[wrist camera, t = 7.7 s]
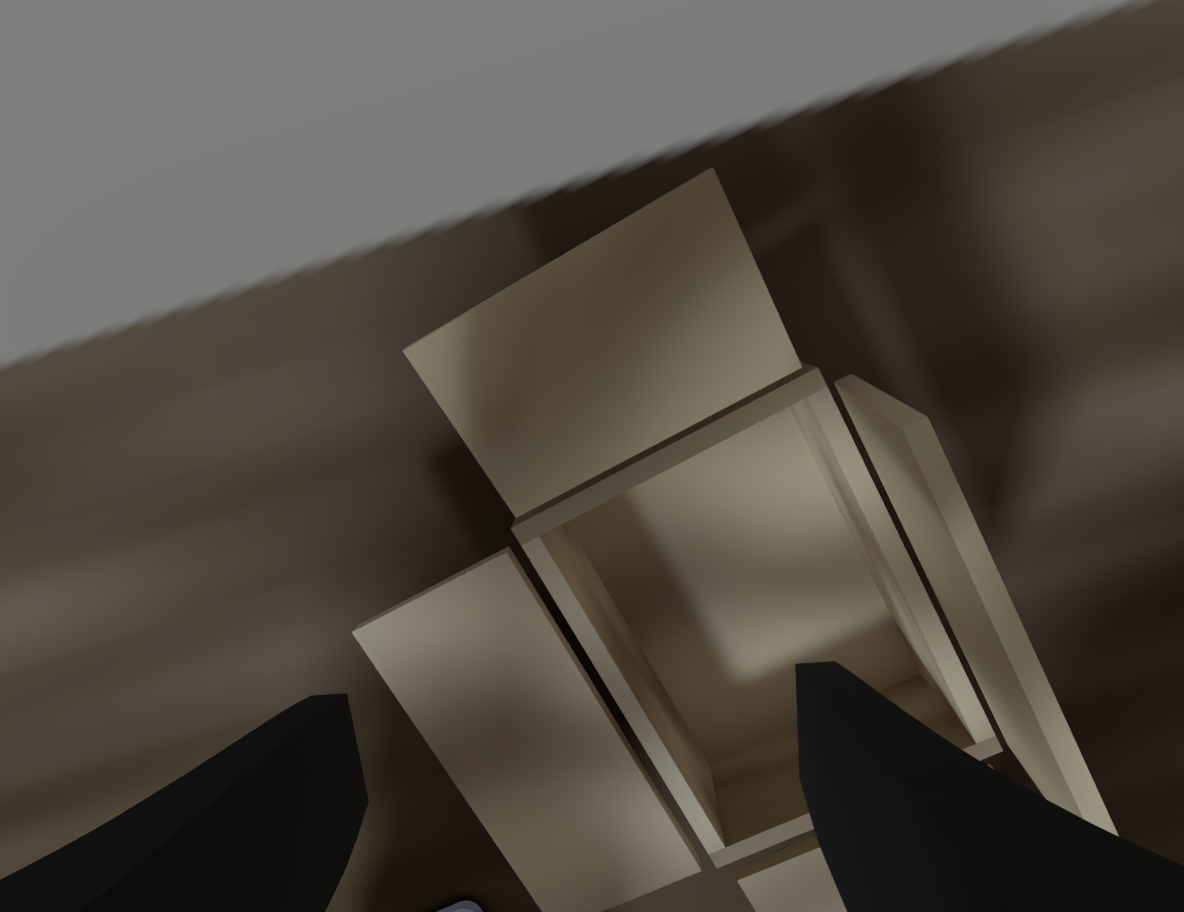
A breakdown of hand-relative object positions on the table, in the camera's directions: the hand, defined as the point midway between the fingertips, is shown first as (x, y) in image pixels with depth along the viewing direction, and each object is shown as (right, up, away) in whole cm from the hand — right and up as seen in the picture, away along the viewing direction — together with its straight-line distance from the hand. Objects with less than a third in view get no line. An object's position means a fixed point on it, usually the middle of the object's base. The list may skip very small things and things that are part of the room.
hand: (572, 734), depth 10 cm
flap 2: (+8, +1, +3) cm, 8 cm away
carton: (+4, -3, +10) cm, 11 cm away
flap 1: (+1, +6, +4) cm, 7 cm away
